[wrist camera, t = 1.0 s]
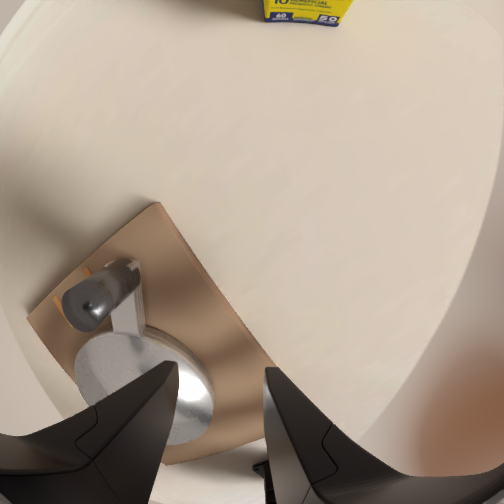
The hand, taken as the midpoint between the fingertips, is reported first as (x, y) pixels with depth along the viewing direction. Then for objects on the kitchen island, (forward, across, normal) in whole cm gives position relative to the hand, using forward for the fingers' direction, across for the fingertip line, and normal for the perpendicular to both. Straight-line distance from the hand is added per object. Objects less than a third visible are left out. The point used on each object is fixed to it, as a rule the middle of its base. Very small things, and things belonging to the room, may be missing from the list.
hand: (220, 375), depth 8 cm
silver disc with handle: (+10, +7, +7) cm, 15 cm away
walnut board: (+12, +7, +9) cm, 17 cm away
